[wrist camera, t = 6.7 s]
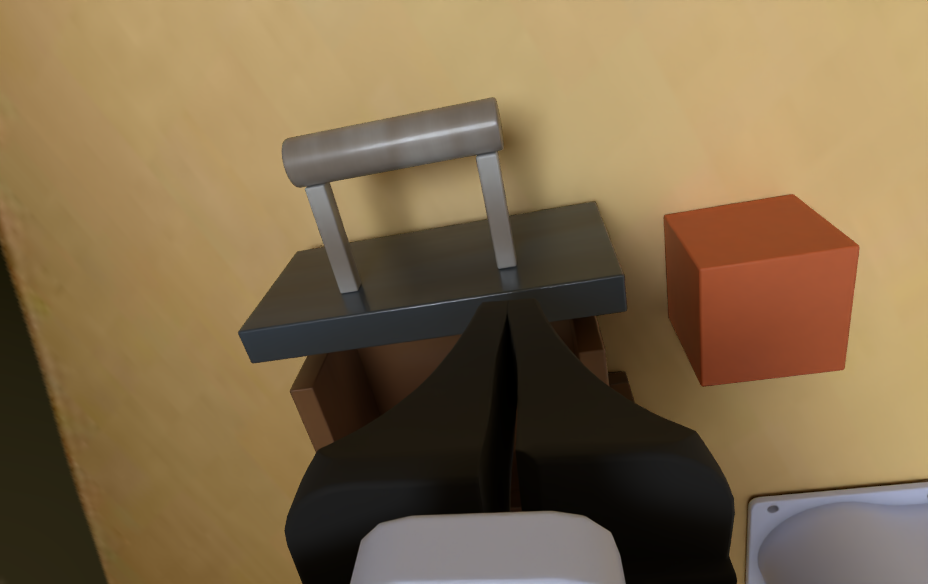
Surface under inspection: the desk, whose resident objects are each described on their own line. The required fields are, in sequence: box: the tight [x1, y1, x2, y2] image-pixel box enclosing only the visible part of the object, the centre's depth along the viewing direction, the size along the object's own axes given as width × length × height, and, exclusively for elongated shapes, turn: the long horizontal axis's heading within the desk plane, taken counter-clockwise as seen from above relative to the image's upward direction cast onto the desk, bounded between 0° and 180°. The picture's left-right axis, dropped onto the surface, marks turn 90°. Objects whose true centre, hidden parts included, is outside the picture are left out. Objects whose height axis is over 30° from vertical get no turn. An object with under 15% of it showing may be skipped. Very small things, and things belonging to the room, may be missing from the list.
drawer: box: [238, 97, 627, 508], centre depth 21 cm, size 18×11×6 cm, turn 12°
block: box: [664, 194, 859, 387], centre depth 21 cm, size 5×5×5 cm
